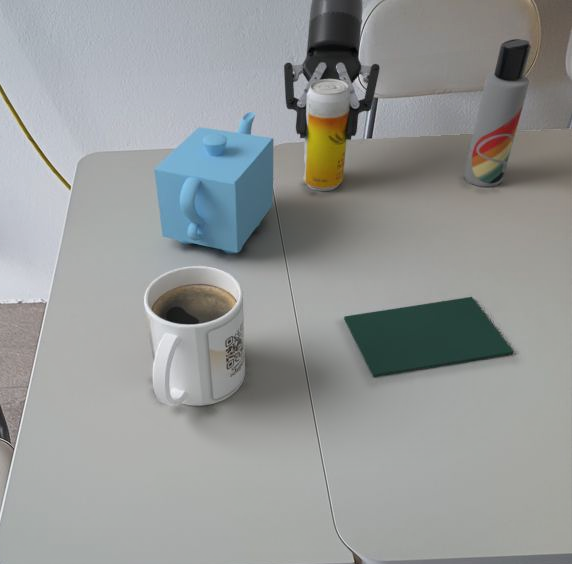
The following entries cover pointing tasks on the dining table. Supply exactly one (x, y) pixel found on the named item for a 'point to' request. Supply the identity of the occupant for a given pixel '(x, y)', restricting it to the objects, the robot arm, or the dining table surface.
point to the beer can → (326, 133)
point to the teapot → (216, 187)
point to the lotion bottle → (498, 115)
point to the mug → (196, 335)
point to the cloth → (425, 336)
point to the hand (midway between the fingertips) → (325, 136)
